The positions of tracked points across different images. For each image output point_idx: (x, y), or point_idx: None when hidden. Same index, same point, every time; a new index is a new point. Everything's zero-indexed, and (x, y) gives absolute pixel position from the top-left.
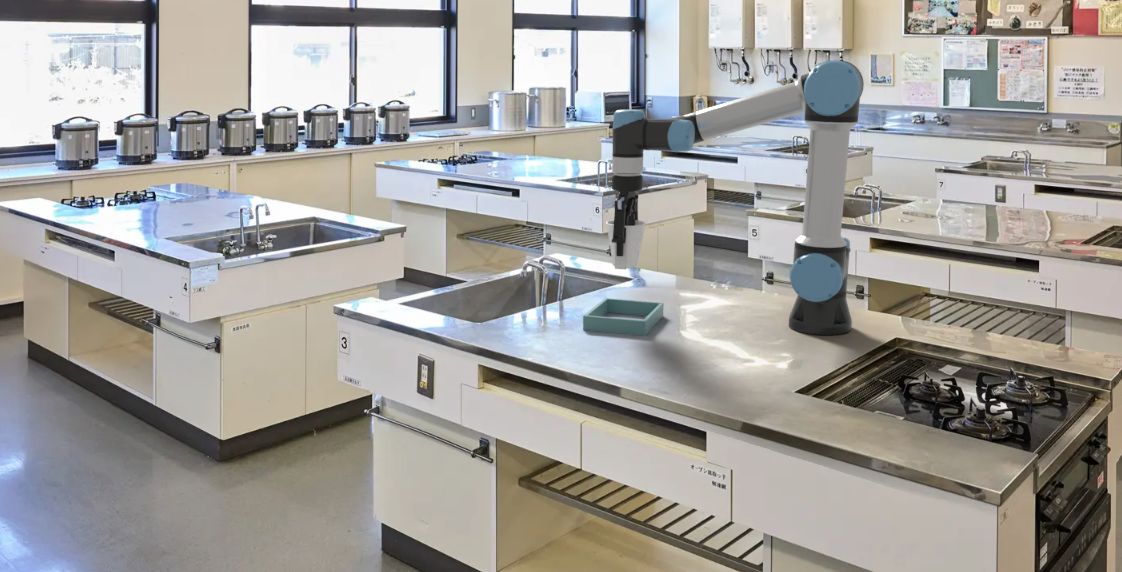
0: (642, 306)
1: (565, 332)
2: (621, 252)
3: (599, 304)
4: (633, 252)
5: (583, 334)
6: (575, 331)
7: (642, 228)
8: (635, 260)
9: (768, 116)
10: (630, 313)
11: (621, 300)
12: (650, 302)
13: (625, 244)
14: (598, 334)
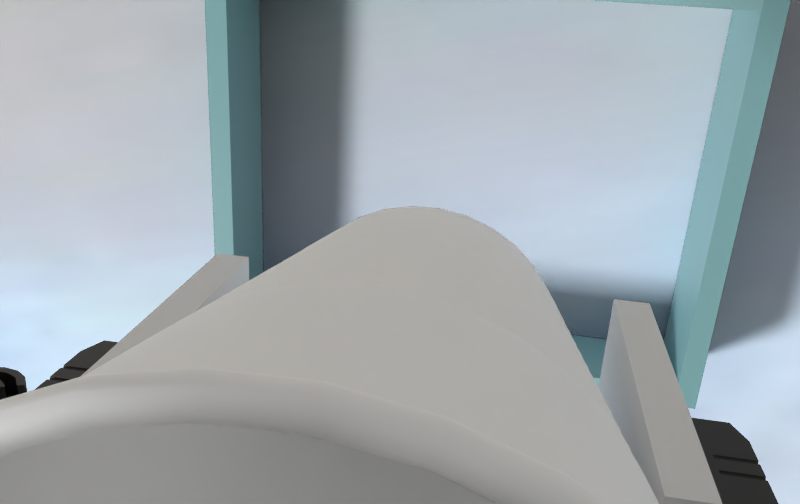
0: (241, 101)
1: (749, 440)
2: (753, 466)
3: None
4: (543, 310)
5: (780, 348)
6: (719, 396)
7: (431, 394)
8: (491, 242)
9: None
10: (260, 166)
11: (234, 246)
12: (222, 49)
13: (717, 496)
14: (769, 271)
